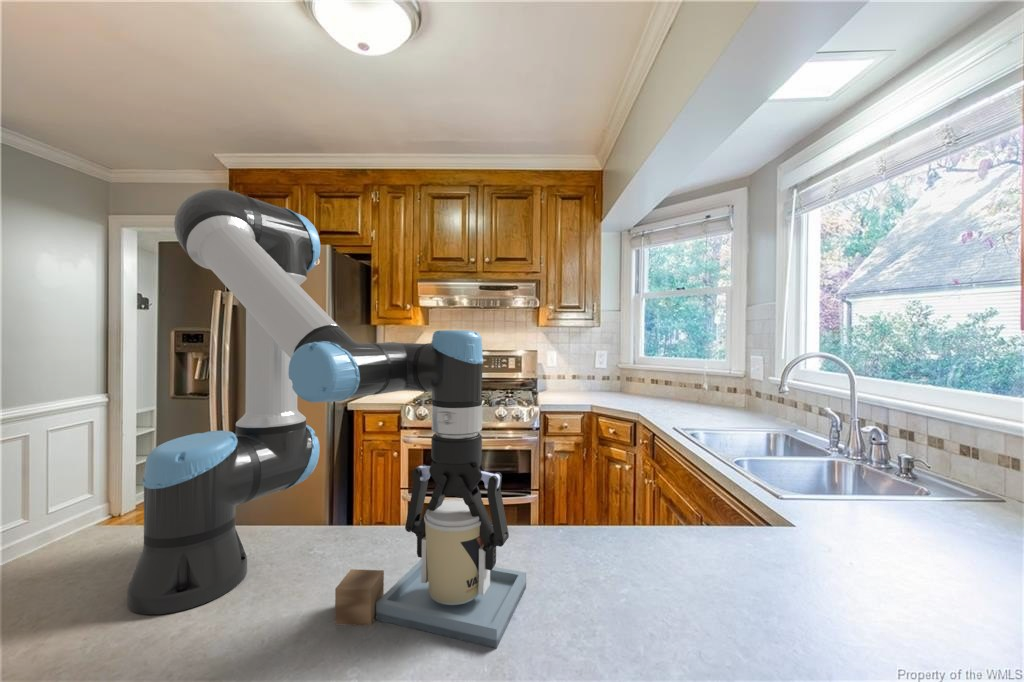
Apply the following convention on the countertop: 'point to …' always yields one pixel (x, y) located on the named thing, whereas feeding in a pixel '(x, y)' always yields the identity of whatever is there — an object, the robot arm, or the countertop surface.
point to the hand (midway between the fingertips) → (455, 583)
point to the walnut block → (358, 597)
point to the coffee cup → (452, 552)
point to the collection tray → (454, 607)
